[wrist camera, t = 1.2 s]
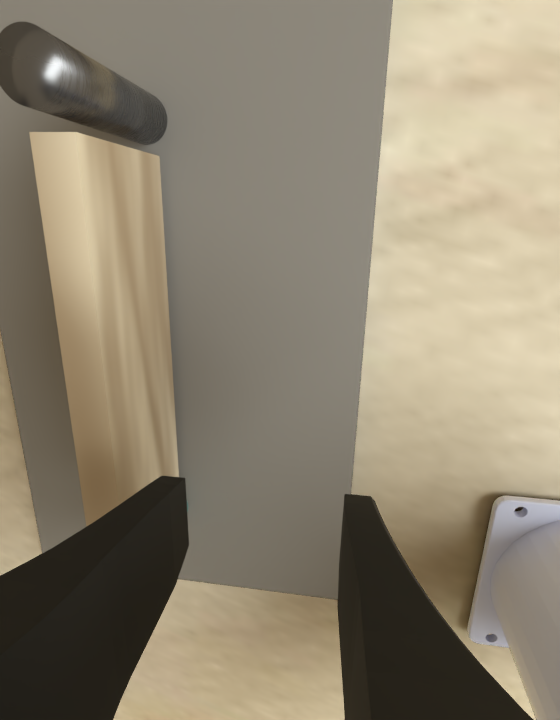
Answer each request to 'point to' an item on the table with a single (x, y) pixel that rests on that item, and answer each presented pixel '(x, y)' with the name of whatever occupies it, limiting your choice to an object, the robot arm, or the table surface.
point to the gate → (109, 310)
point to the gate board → (224, 267)
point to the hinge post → (75, 86)
